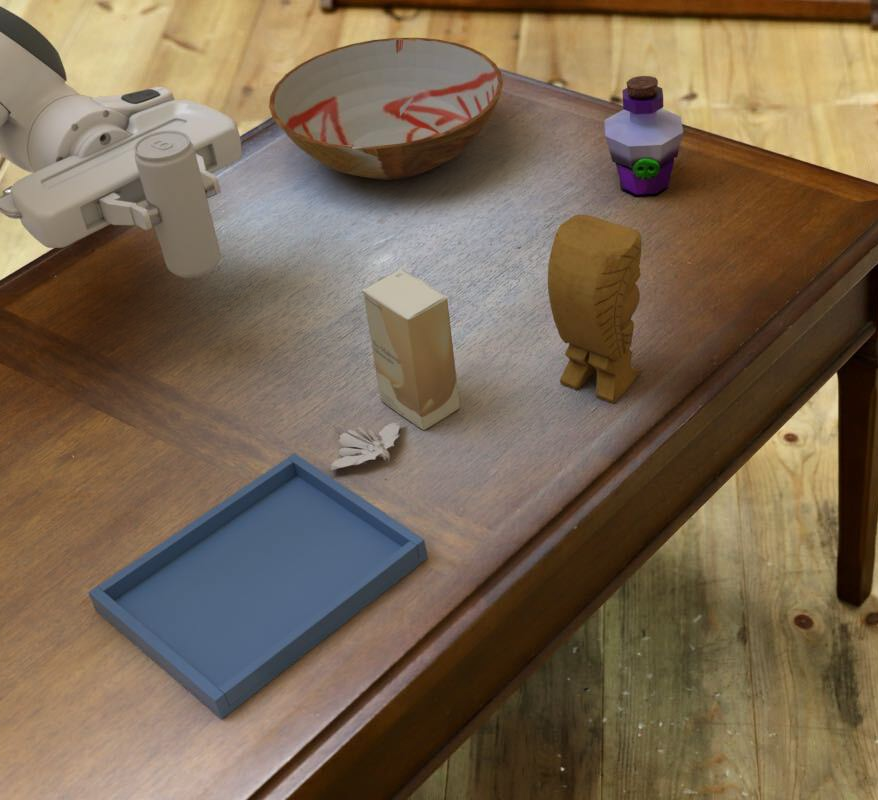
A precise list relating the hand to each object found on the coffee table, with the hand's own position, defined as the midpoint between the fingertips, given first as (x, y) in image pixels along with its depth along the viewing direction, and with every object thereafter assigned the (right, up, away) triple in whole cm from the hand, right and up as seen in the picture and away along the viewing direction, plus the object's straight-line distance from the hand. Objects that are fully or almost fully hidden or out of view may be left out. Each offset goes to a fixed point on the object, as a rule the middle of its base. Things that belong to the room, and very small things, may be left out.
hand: (183, 203), depth 116 cm
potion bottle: (+40, +6, +31) cm, 51 cm away
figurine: (+35, -15, +6) cm, 38 cm away
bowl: (+12, +11, +38) cm, 41 cm away
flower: (+15, -21, +1) cm, 25 cm away
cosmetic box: (+19, -17, +4) cm, 26 cm away
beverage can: (0, -5, +5) cm, 7 cm away
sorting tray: (+9, -31, -11) cm, 34 cm away
